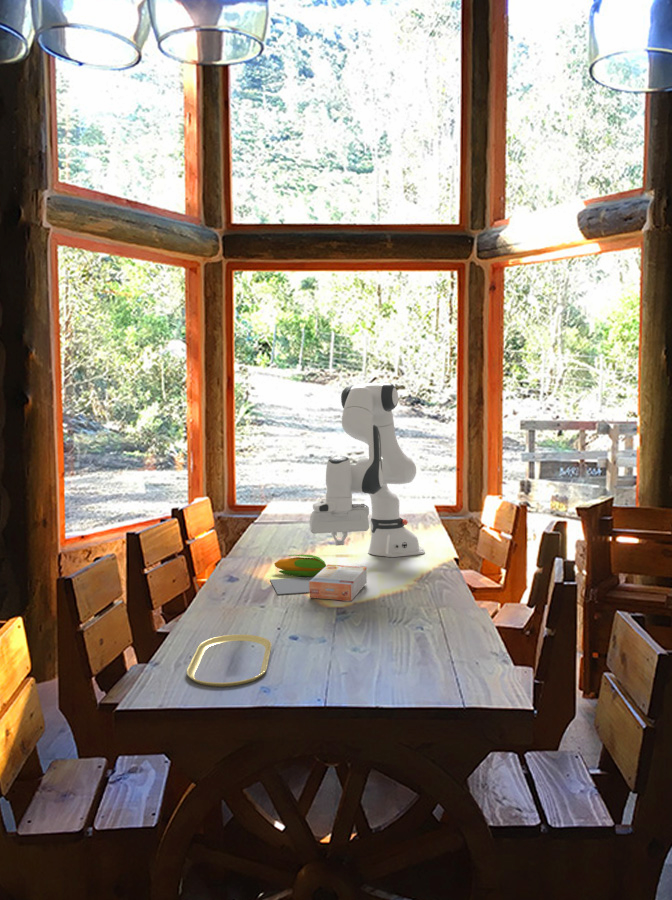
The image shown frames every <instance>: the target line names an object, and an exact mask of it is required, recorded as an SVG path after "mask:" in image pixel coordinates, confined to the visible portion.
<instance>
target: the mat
mask: <svg viewBox="0 0 672 900" xmlns="http://www.w3.org/2000/svg"><path fill="white" fill-rule="evenodd" d="M312 578H313V577H288V578H274V579H269V581H270V583H271V585H272V587H273V589H274V591H275V592H276V594H277V596H286V595H300V594H301V595H302V594H303V595H304V594H310V591H309V581H310V580H311V579H312Z"/></svg>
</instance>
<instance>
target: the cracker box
mask: <svg viewBox="0 0 672 900" xmlns="http://www.w3.org/2000/svg"><path fill="white" fill-rule="evenodd" d="M367 569H368V568H367V566H354V565H341V564H326V567H325V568H323V569H322V570H321V571H320V572H319V573H318V574H317V575H316V576H315V577H313V578H312V579H311V580H310V581H309V591H310V593H309V599H310V598H311V599H319V600H321V599H323V600H333V601H334V600H335V601H344V602H352V601H353V600H354V598H355V597H356V596H357V595H358V594H359V592H360V591H361V590H362V589H363V588H364V587H365V586H366V585H367V581H368V578H367V577H368V575H367V572H368V570H367Z"/></svg>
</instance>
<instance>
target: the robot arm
mask: <svg viewBox="0 0 672 900" xmlns="http://www.w3.org/2000/svg"><path fill="white" fill-rule="evenodd" d="M398 401H399V393H398V388H397V387H396V386H395V385H394V384H393V383H389V382H384V383H381V382H379V383H378V382H377V383H376V382H372V383H371V382H367V383H363V384H357V385H354V384H353V385H351V384H350V385H348V386H346V387H345V388H344V389H343V390H342V391H341V395H340V403H341V406H342V409H343V412H342V416H341V427H342V429H343V431H344V432H345V433H346V434H347V435H348V436H349V437H351V438H353V439H354V440H357V441H360V442H363V443H364V444H367V445H368V456H367V455H366V456H362V457H360V458H359V459H357V461H356V463H355V464H351V460H350V458H349V457H347V456H342V455H339V456H337V455H336V456H333V457H330V458H329V459H328V460H327V462H326V468H325V469H326V470H325V485H326V493H325V499H323V500H320V501H318V502H315V503H312V512H311V513H310V517H309V531H310V533H312V534H330V533H331V536H332V539H334V545H335V547H336V546H345V540H346V539H347V538H348V533H350V532H351V533H352V532H367V531H369V528H370V532H371V535H370V536H371V537H370V543H369V548H368V554H370V555H373V556H377V557H379V556H380V557H386V558H398V557H406V556H407V557H408V556H417V555H423V554H425V549H424V548H423V547H421V546H420V545H419V544H420V543H419V540H418V537H417V536H416V534H414V533H413V532H411V531H410V530H409V529H408V528H406V527H405V526H406V525H408V524H409V522H408V520H407V519H404V518H401V517H400V499H399V498H398V495H396V494H395V493H393V492H392V491H391V490H390V489H389V487H388V484H389V485H404V484H406V485H407V484H409V483H412V482H413V481H414V479H415V478H416V475H417V466H416V464H415V462H414V461H413V459H412V458H410V457H408V455H407V454H405V453H404V451H403V450H402V449H401V447H400V445H399V443H398V440H397V435H396V430H395V423H394V422H395V421H394V416H393V411H392V410H394V409H395V408H396V407H397V405H398ZM352 493H357V494H358V493H360V494H361V493H362V494H369V496H370V497H369V498H370V502H371V504H370V505H371V518H370V521H369V515H370V508H369V505H366V504H365V503H353V494H352ZM338 533H341V535H342V537H341V538H340V539H338V538H337V535H338Z"/></svg>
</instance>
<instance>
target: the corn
mask: <svg viewBox="0 0 672 900" xmlns="http://www.w3.org/2000/svg"><path fill="white" fill-rule="evenodd" d="M293 556H294V557H293ZM288 557H290V558H281V559H279V560H277V561H276V562H274V567H276V568H277V569H279V570H278V572H279V573H280V574H284V575H286V576H291V575H293V577H302V576H304V577H315V576H316V575H317V574H318V573H319V572H320V571H321V570H322V569H323V568H325V567H326V566H327V564H326V562H325V560H323V559H322V558H321V557H320V556H317V555H313V554H289V555H288Z"/></svg>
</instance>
